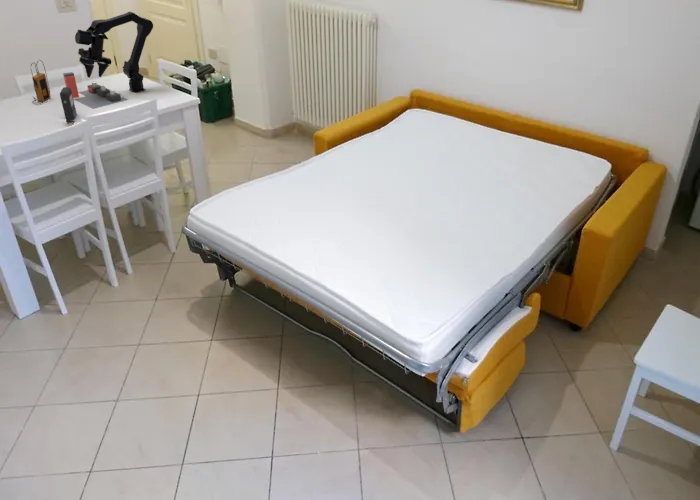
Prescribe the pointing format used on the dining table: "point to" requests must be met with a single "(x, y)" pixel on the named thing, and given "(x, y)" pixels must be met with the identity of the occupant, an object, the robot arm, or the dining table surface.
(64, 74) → the block
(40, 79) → the multimeter
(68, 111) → the card reader
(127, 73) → the robot arm
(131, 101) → the dining table surface
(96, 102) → the breaker panel
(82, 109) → the dining table surface
